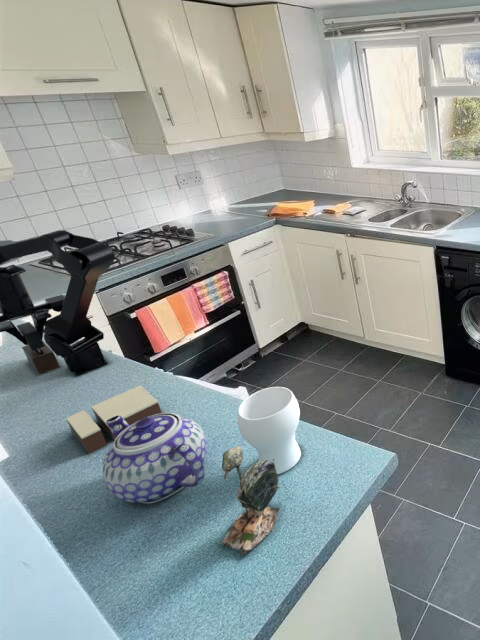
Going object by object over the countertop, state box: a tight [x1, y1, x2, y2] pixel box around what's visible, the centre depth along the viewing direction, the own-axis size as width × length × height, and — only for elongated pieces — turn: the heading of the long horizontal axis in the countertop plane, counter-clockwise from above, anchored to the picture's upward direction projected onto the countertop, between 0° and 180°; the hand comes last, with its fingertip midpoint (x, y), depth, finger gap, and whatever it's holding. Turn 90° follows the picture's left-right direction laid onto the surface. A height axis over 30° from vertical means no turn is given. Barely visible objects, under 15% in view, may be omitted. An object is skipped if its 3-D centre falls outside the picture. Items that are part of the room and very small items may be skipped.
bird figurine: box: [221, 445, 280, 555], centre depth 72 cm, size 8×11×20 cm
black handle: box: [16, 321, 45, 355], centre depth 114 cm, size 2×8×10 cm, turn 57°
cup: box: [236, 386, 302, 475], centre depth 85 cm, size 11×11×15 cm
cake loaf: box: [91, 385, 163, 442], centre depth 97 cm, size 9×10×4 cm
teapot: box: [102, 412, 208, 504], centre depth 81 cm, size 25×15×15 cm, turn 66°
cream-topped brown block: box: [65, 409, 108, 454], centre depth 92 cm, size 3×10×4 cm, turn 57°
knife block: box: [21, 341, 61, 375], centre depth 116 cm, size 4×10×5 cm, turn 57°
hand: (33, 342), depth 114 cm, fingers closed on black handle, 2 cm apart
